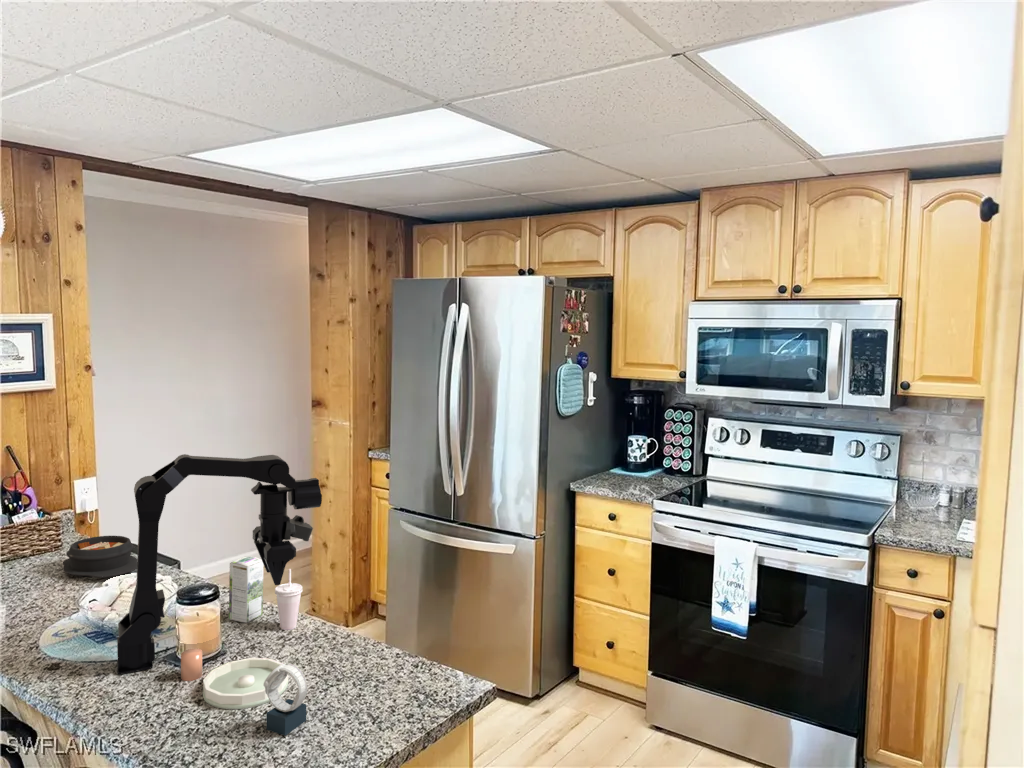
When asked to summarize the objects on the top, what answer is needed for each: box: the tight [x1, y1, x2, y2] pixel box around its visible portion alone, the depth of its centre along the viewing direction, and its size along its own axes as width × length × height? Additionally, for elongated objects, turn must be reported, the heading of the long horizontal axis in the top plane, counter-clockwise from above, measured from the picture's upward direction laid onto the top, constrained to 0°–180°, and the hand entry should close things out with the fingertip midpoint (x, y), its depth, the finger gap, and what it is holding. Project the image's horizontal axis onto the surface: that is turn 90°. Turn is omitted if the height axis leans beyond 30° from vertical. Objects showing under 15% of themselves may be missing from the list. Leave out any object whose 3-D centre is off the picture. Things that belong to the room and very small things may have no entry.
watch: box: [263, 663, 308, 737], centre depth 129 cm, size 6×8×11 cm
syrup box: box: [228, 556, 265, 624], centre depth 175 cm, size 6×6×14 cm
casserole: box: [62, 535, 137, 579], centre depth 205 cm, size 25×19×8 cm
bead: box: [180, 648, 203, 682], centre depth 146 cm, size 4×4×5 cm
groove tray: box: [202, 657, 289, 710], centre depth 142 cm, size 16×16×2 cm
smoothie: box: [274, 568, 304, 631], centre depth 171 cm, size 6×6×14 cm
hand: (273, 578), depth 162 cm, fingers open, 9 cm apart
